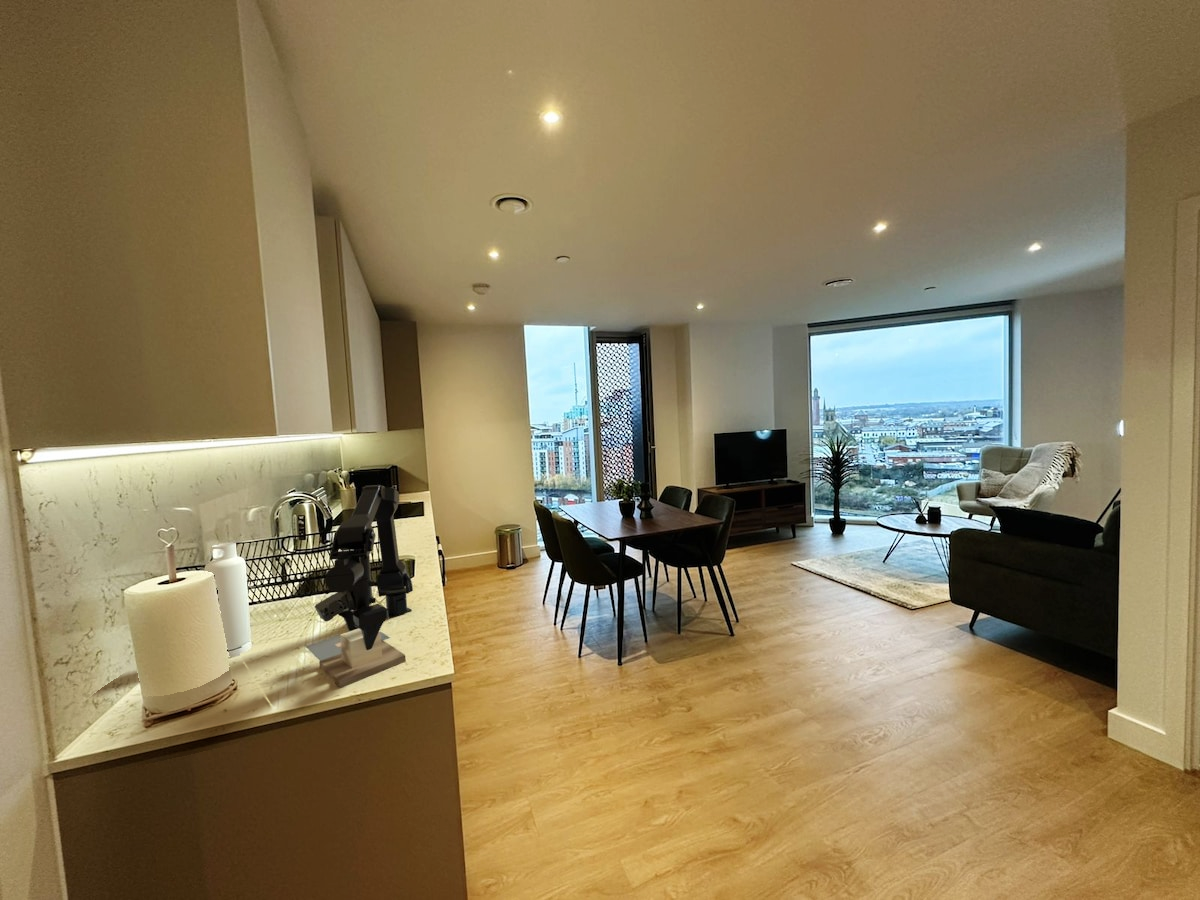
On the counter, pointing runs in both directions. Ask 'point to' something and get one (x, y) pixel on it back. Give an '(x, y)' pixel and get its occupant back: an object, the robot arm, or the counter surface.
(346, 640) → the oak block
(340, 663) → the walnut pad
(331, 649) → the tile
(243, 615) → the bottle
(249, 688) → the counter surface
